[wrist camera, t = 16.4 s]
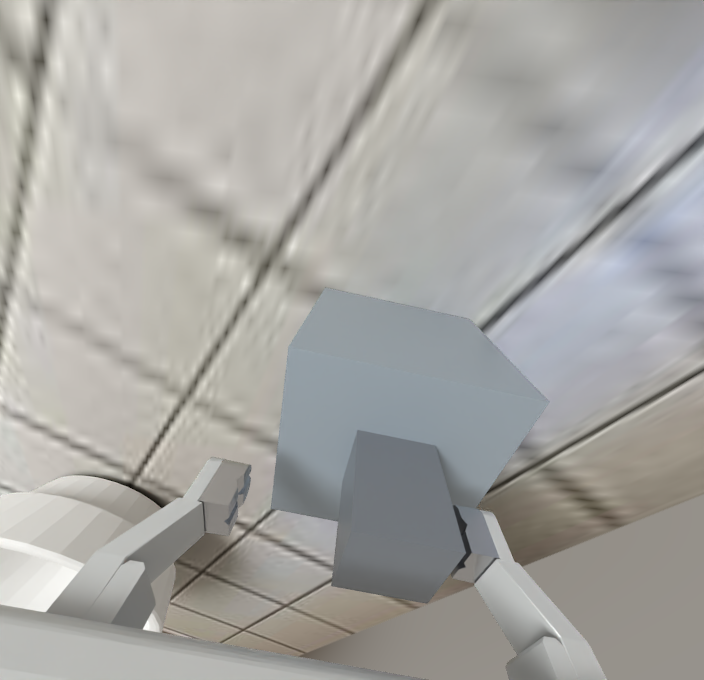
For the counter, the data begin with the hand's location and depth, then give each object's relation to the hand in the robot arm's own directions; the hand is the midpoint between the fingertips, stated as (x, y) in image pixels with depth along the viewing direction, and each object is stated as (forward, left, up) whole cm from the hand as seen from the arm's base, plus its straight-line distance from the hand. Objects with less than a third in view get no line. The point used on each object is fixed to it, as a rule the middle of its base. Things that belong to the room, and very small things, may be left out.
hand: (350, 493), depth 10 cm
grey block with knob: (-2, 0, -11) cm, 11 cm away
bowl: (+24, +28, -11) cm, 39 cm away
